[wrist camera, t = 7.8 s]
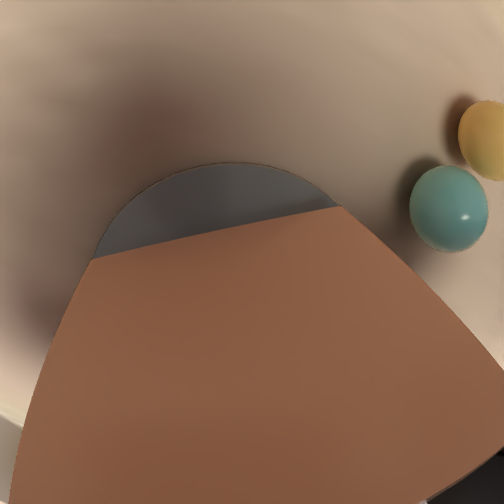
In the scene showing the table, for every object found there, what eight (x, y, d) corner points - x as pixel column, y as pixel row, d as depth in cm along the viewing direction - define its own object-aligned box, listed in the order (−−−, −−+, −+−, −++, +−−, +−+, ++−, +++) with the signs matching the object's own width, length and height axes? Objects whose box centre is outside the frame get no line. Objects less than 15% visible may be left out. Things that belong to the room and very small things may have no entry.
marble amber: (486, 99, 8) (541, 112, 6) (484, 165, 10) (535, 189, 7) (441, 92, 8) (504, 104, 5) (441, 169, 10) (498, 197, 7)
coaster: (361, 141, 9) (367, 143, 8) (351, 356, 14) (354, 362, 13) (48, 209, 8) (43, 213, 7) (150, 400, 13) (150, 407, 12)
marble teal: (452, 153, 9) (509, 178, 7) (445, 223, 11) (493, 258, 8) (394, 158, 9) (454, 186, 6) (391, 236, 11) (439, 280, 8)
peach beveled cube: (340, 205, 8) (536, 415, 2) (335, 366, 11) (403, 515, 5) (91, 259, 7) (6, 523, 1) (169, 402, 11) (179, 564, 5)
